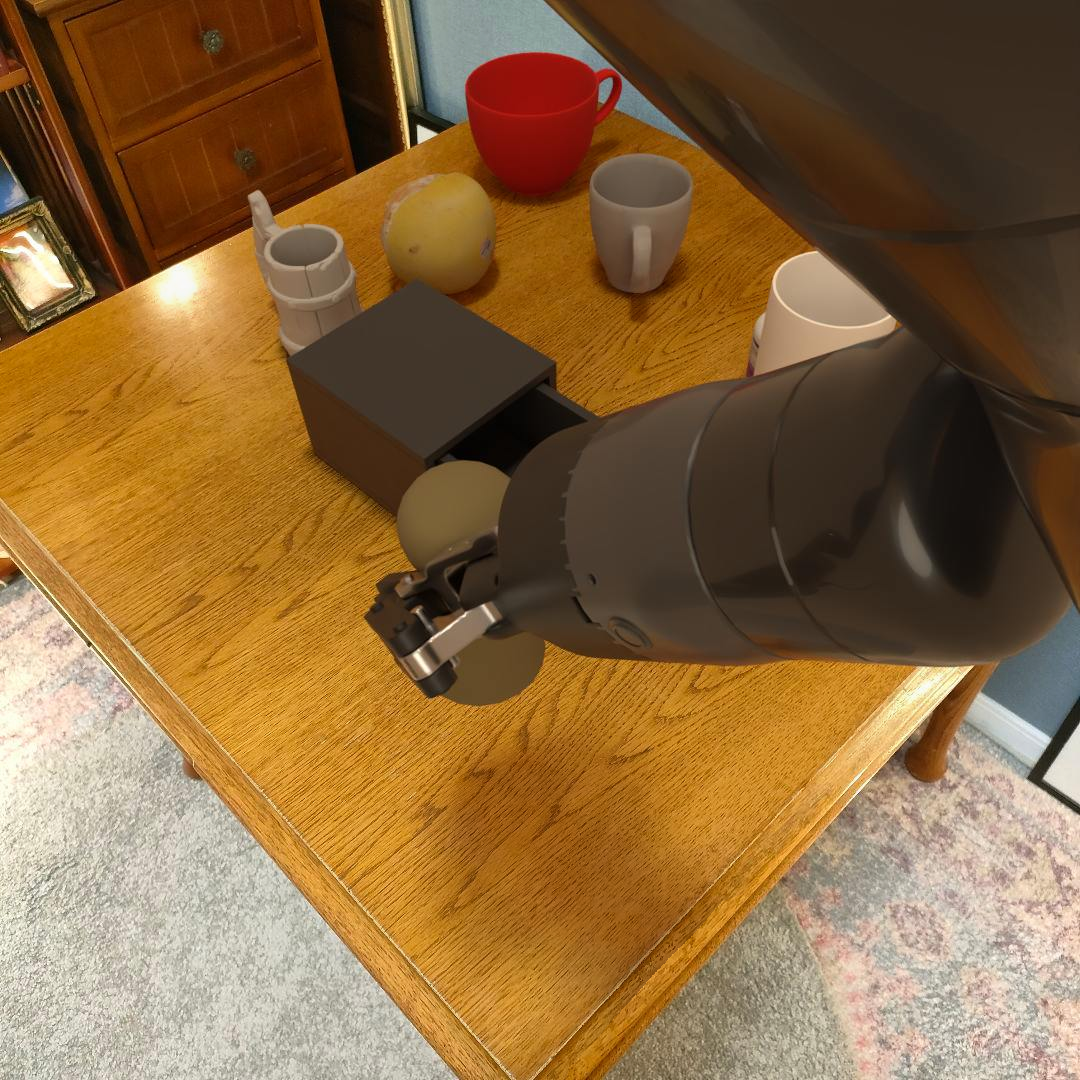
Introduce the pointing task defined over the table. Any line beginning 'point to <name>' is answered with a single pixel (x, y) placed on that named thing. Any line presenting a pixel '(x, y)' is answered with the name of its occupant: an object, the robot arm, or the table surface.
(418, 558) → the pepper shaker
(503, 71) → the ceramic cup
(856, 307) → the cup
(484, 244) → the fruit
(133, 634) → the table surface
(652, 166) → the mug
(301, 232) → the mug
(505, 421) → the drawer
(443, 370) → the small storage chest
